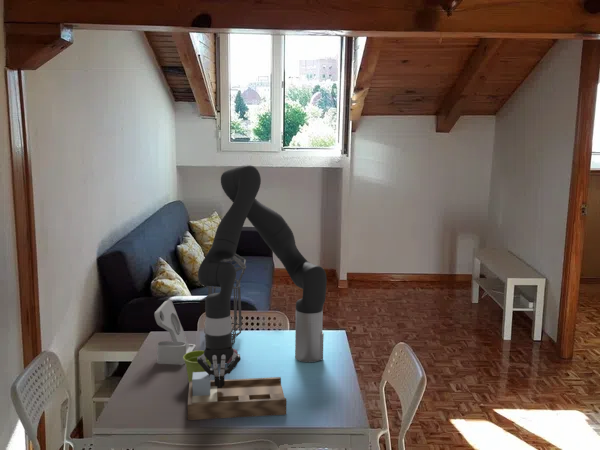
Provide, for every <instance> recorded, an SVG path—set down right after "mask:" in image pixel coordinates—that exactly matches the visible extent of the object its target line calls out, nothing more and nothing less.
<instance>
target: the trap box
mask: <svg viewBox="0 0 600 450" xmlns="http://www.w3.org/2000/svg"><path fill="white" fill-rule="evenodd" d="M224 381H225V384H224V386H222V388H217V386H215V379H213V380H212V379H210V395H203V396H193V387H192V381H190V382H189V381H188V383H189V384H188V395H187V420H188V421H194V420H195V421H196V420H198V421H199V420H213V419H230V418H231V419H232V418H248V417H267V416H268V417H269V416H285V415H287V397H285V393H284V389H283V386H282V377H281V376H274V377H272V376H271V377H252V378H235V379H234V378H233V379H230V378H229V379H224ZM219 382H220V379H219Z"/></svg>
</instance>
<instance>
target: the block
mask: <svg viewBox="0 0 600 450" xmlns="http://www.w3.org/2000/svg"><path fill="white" fill-rule="evenodd" d="M210 380H211V375H209V374H208V373H207V372H193V378H192V387H193V396H203V395H210Z"/></svg>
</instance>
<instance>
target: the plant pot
mask: <svg viewBox="0 0 600 450" xmlns="http://www.w3.org/2000/svg"><path fill="white" fill-rule="evenodd" d="M203 354H204V350H194V351H192V352H188V353H186V354H185V355H184V356H183V359H184V360H185V364H184V365H185V367H186V372H187V373H186V374H187V380H188V383H189V382H190V381H192V378H193V372H206V371H205V370H204V369H203V368H202V367H201V366H200V364H199V363H198V362H197V358H198V356H201V355H203ZM205 358H206V357H205ZM206 363H207V364H208V365H209V366H210V367H211V368H212V364H211V363H210V362H209V360H208V359H207V358H206Z"/></svg>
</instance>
